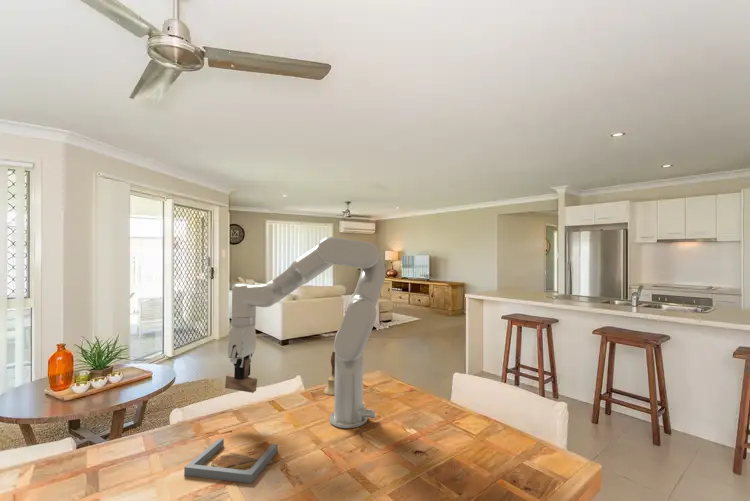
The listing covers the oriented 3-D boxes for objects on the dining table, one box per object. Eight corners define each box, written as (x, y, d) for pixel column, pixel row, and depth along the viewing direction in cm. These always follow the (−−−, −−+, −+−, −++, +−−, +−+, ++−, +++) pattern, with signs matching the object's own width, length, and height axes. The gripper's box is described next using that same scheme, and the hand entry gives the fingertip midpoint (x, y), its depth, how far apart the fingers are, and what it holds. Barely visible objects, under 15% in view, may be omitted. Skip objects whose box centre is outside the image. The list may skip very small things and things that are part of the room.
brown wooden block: (256, 390, 119) (259, 360, 119) (252, 393, 116) (255, 362, 116) (229, 385, 121) (232, 355, 121) (224, 388, 118) (227, 358, 118)
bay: (277, 451, 101) (277, 444, 101) (251, 483, 86) (251, 474, 86) (218, 445, 104) (218, 438, 104) (184, 475, 89) (184, 467, 89)
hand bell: (319, 391, 146) (319, 351, 147) (336, 386, 152) (336, 348, 152) (331, 397, 140) (331, 356, 140) (348, 391, 146) (348, 352, 146)
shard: (261, 465, 95) (262, 458, 95) (241, 482, 88) (242, 474, 88) (229, 457, 99) (229, 450, 99) (207, 472, 91) (207, 465, 91)
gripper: (245, 317, 127) (244, 369, 127) (218, 325, 111) (217, 385, 111) (265, 317, 126) (264, 370, 126) (240, 326, 110) (239, 386, 110)
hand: (242, 376), depth 118 cm, fingers closed on brown wooden block, 3 cm apart
